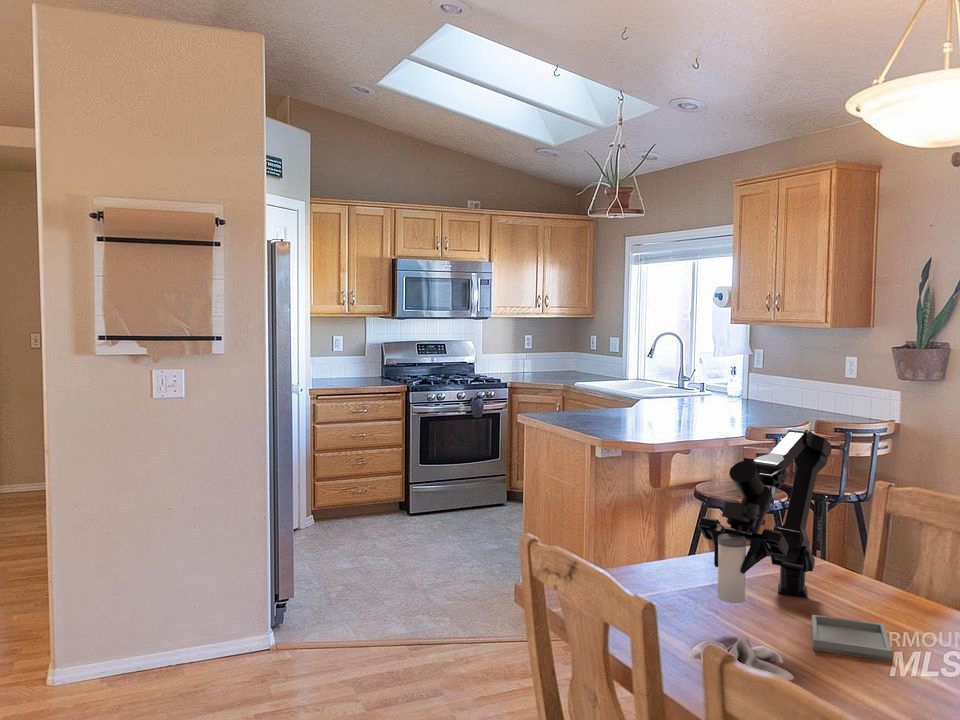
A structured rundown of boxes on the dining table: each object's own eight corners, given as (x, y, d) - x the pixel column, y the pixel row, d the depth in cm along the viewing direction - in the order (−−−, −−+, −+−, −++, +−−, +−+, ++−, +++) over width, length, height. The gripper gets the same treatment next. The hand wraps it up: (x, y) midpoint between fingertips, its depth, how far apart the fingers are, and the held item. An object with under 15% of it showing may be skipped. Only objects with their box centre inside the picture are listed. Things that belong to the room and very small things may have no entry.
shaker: (718, 591, 170) (719, 532, 169) (746, 595, 168) (747, 535, 167) (716, 600, 164) (716, 539, 164) (744, 604, 162) (745, 542, 161)
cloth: (681, 644, 160) (681, 615, 160) (772, 646, 159) (773, 617, 159) (704, 697, 138) (705, 664, 138) (811, 700, 137) (812, 666, 137)
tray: (811, 624, 169) (812, 614, 169) (883, 634, 164) (884, 623, 163) (813, 650, 156) (813, 639, 156) (891, 661, 151) (891, 650, 150)
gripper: (701, 481, 174) (676, 540, 167) (783, 494, 161) (759, 559, 154) (718, 509, 180) (694, 567, 173) (798, 524, 167) (775, 587, 160)
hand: (728, 569), depth 165 cm, fingers closed on shaker, 6 cm apart
